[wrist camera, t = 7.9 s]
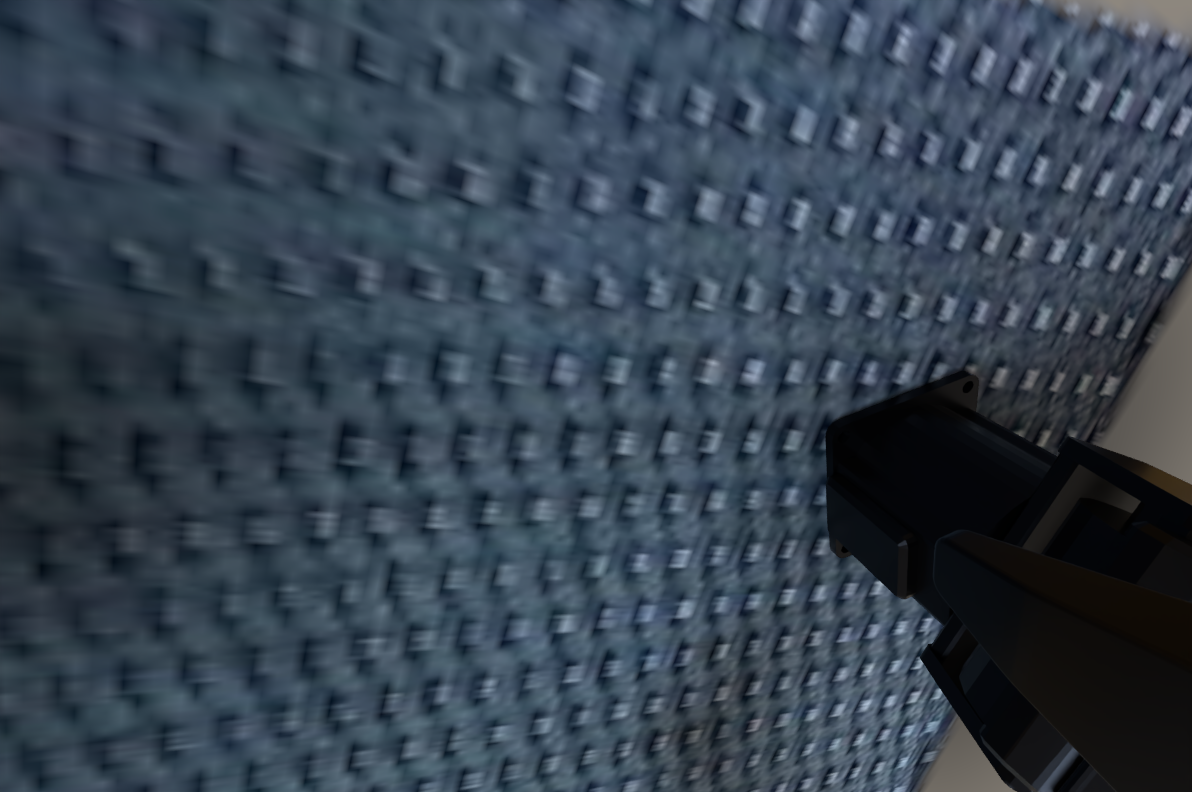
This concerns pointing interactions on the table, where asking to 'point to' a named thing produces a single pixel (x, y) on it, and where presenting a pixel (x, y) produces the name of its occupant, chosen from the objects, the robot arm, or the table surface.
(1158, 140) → the table surface
